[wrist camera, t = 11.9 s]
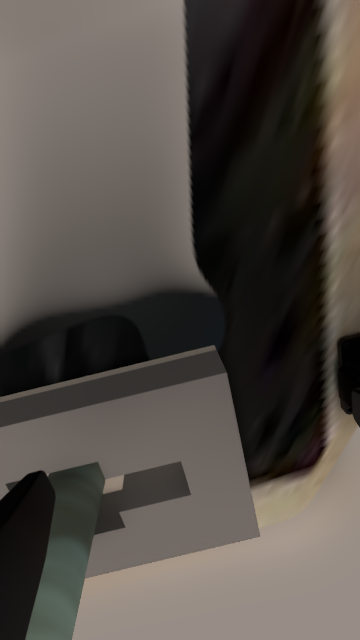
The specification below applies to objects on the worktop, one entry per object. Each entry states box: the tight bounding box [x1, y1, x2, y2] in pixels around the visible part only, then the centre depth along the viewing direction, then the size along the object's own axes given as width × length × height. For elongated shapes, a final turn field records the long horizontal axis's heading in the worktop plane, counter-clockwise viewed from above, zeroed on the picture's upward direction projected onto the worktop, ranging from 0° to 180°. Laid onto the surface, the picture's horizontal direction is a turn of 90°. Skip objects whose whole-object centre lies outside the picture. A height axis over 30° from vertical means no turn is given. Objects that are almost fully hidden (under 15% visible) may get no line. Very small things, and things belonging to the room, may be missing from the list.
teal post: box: [25, 462, 106, 640], centre depth 16 cm, size 4×4×13 cm
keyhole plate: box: [0, 345, 260, 578], centre depth 21 cm, size 18×14×4 cm
